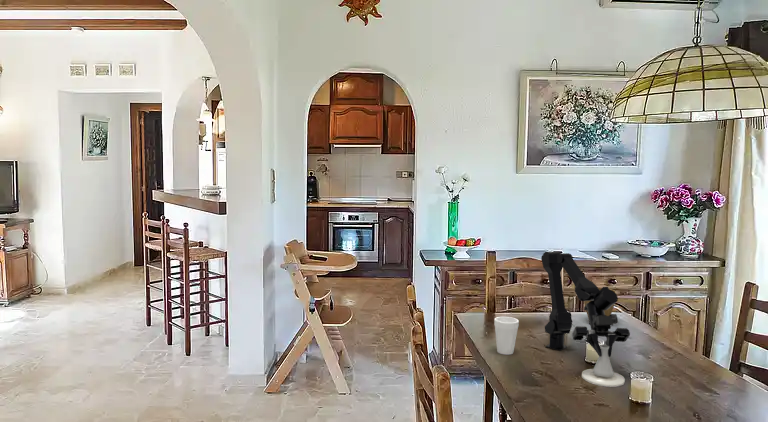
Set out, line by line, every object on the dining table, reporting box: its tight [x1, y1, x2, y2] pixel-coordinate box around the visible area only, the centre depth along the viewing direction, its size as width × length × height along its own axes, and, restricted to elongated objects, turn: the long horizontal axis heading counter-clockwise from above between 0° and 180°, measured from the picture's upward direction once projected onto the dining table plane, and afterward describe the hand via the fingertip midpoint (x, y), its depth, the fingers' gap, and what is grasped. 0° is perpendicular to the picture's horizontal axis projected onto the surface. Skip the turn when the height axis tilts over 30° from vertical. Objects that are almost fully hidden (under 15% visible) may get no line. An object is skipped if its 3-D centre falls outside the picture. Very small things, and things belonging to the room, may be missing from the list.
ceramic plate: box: [581, 368, 626, 388], centre depth 199 cm, size 14×14×1 cm
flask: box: [592, 344, 615, 377], centre depth 199 cm, size 7×7×10 cm
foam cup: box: [493, 316, 520, 356], centre depth 225 cm, size 10×9×13 cm
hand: (605, 356), depth 197 cm, fingers closed on flask, 3 cm apart
